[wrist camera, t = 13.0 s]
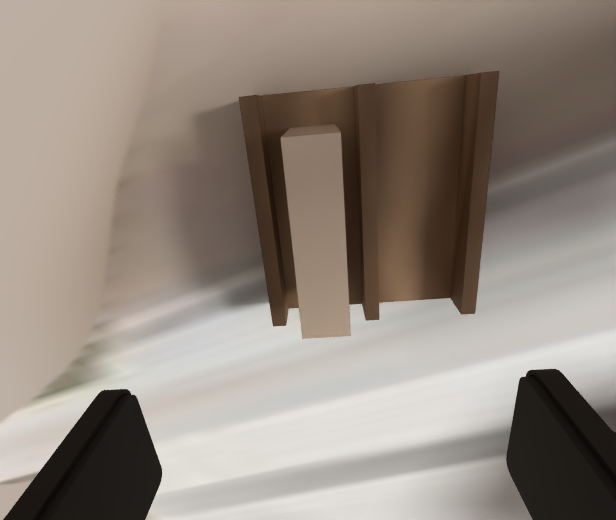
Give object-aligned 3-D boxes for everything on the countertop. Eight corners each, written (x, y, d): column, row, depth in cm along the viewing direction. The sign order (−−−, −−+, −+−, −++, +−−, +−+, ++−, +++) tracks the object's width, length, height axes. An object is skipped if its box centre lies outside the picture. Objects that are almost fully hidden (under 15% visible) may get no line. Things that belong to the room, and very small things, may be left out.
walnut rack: (472, 75, 25) (499, 71, 21) (456, 288, 31) (475, 313, 27) (250, 97, 26) (238, 96, 22) (278, 300, 32) (273, 326, 28)
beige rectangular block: (334, 123, 25) (340, 132, 18) (343, 284, 30) (350, 335, 23) (290, 127, 25) (280, 137, 19) (305, 286, 30) (302, 338, 23)
